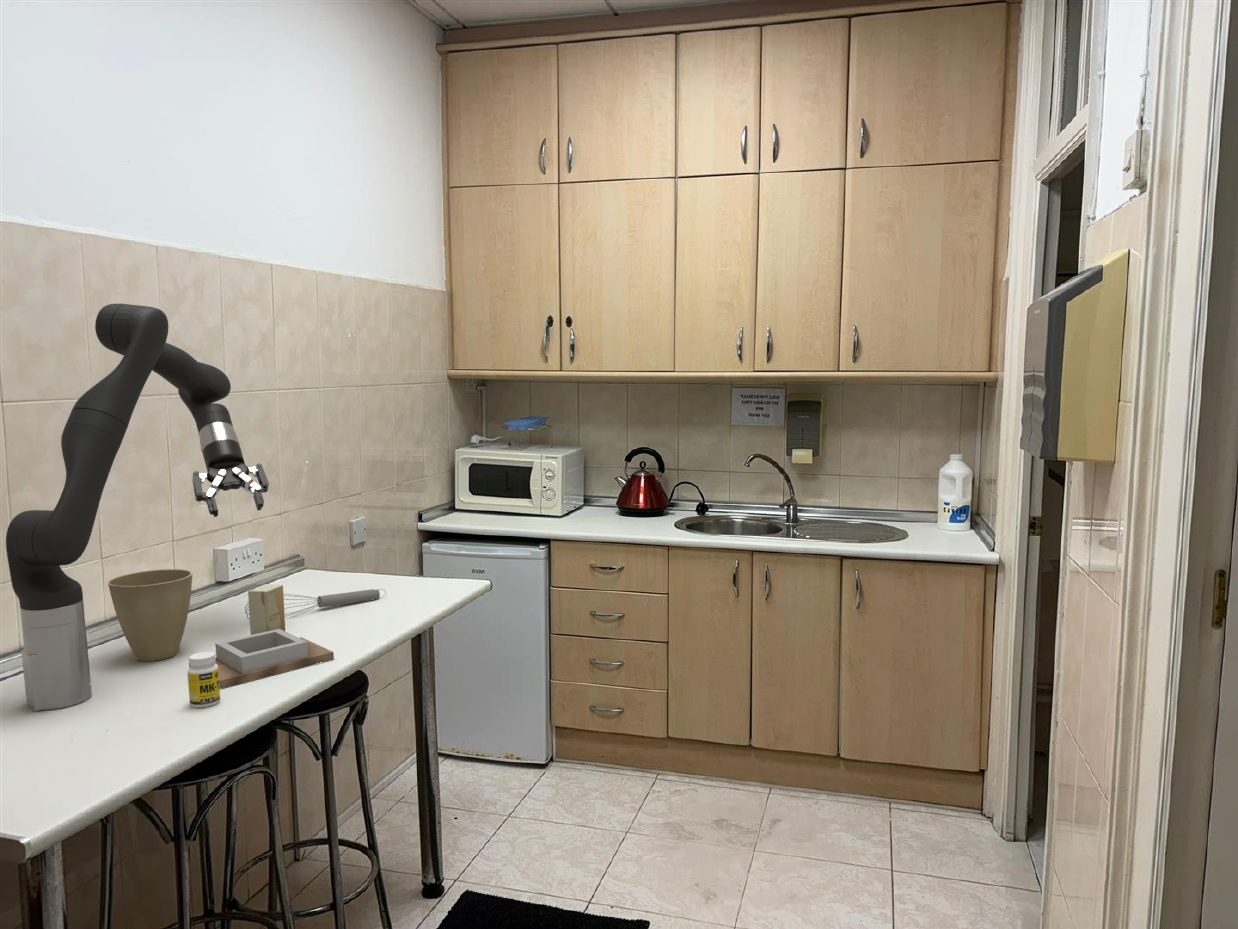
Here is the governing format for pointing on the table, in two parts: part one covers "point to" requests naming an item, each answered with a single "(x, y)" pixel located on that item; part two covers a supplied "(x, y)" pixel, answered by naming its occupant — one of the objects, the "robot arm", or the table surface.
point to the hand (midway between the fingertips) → (238, 511)
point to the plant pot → (152, 610)
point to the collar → (261, 650)
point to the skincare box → (266, 608)
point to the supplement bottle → (203, 680)
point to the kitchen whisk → (336, 599)
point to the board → (234, 677)
